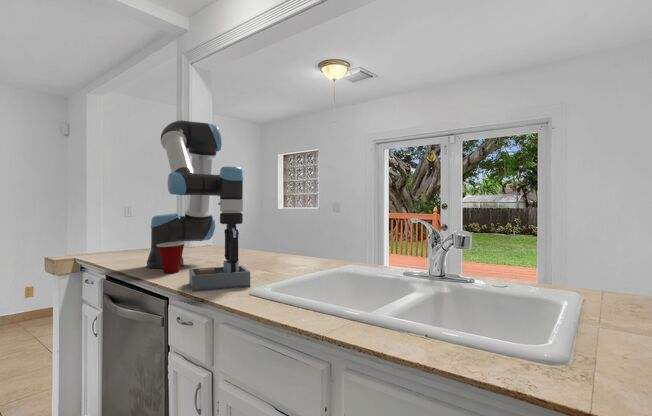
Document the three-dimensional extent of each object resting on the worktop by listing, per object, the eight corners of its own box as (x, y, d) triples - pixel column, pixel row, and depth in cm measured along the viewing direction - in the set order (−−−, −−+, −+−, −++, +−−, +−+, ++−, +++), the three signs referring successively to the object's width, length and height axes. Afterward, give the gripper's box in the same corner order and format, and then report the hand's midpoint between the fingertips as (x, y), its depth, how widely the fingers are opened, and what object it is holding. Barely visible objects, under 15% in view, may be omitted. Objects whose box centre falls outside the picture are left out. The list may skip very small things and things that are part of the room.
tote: (189, 283, 125) (189, 268, 125) (242, 279, 133) (242, 265, 133) (192, 291, 113) (192, 275, 113) (250, 286, 120) (250, 271, 120)
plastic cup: (151, 272, 147) (151, 242, 147) (177, 269, 155) (177, 240, 155) (163, 275, 139) (163, 244, 139) (190, 272, 148) (190, 242, 148)
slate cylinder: (222, 281, 126) (222, 260, 126) (237, 279, 128) (237, 259, 128) (224, 283, 121) (224, 262, 121) (239, 282, 123) (239, 261, 123)
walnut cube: (197, 283, 122) (197, 268, 122) (213, 281, 124) (213, 267, 124) (199, 285, 118) (199, 270, 118) (215, 284, 120) (215, 269, 120)
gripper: (216, 212, 131) (216, 276, 131) (224, 212, 114) (223, 286, 114) (237, 212, 134) (237, 275, 134) (247, 212, 117) (247, 284, 117)
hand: (231, 280), depth 124 cm, fingers open, 5 cm apart
